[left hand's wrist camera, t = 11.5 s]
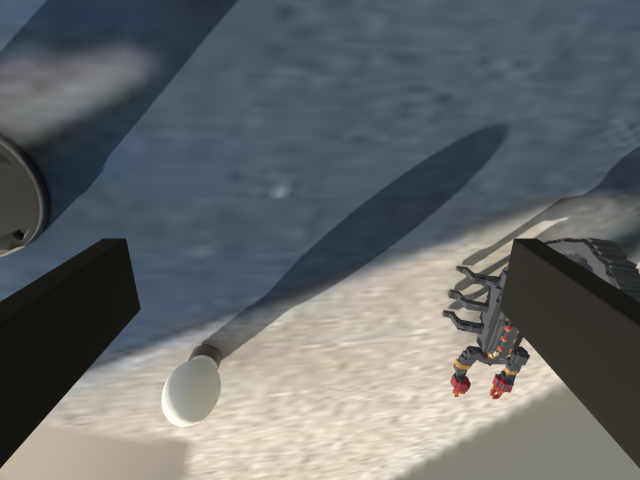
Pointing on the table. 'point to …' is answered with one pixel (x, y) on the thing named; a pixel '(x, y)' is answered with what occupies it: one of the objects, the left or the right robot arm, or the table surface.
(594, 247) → the toy
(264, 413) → the table surface
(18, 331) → the left robot arm
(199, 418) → the light bulb
